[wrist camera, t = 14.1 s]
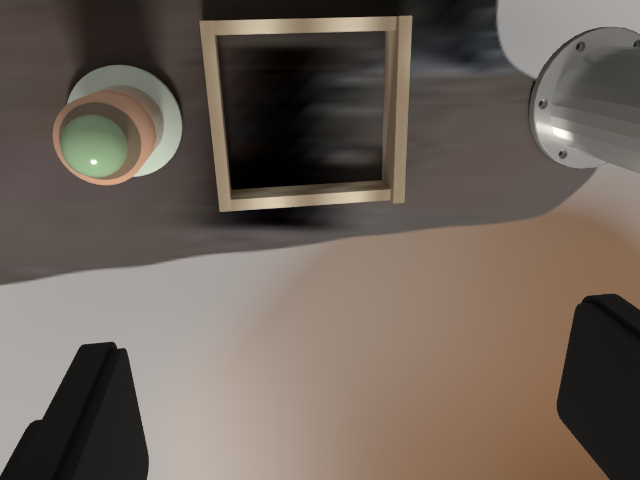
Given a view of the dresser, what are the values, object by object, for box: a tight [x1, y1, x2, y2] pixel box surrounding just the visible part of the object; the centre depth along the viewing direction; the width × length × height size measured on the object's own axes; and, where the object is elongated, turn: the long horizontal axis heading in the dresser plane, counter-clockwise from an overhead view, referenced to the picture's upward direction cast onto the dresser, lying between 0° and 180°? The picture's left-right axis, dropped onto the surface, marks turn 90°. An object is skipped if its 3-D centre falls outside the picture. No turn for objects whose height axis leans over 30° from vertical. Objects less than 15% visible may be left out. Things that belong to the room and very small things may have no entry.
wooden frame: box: [200, 16, 412, 212], centre depth 42 cm, size 16×15×4 cm
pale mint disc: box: [67, 65, 183, 177], centre depth 42 cm, size 9×9×1 cm
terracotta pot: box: [53, 85, 164, 185], centre depth 36 cm, size 6×6×12 cm
